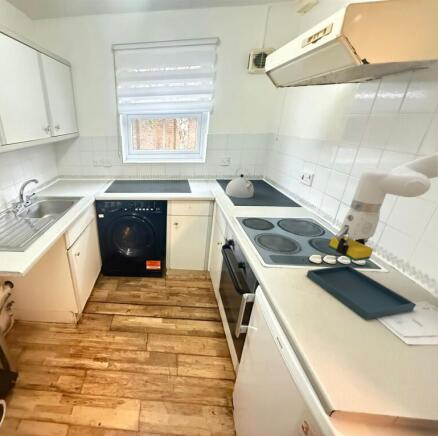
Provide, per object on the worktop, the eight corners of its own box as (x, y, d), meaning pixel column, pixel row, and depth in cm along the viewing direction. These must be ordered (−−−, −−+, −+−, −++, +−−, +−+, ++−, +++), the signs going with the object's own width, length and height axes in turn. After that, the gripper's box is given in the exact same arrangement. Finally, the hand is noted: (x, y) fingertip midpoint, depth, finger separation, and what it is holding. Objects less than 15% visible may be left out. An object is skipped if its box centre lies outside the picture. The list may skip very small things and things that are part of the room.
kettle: (261, 197, 194) (266, 170, 186) (237, 199, 189) (241, 171, 180) (242, 189, 217) (246, 164, 208) (220, 191, 211) (223, 165, 202)
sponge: (328, 247, 91) (331, 238, 89) (342, 245, 92) (345, 236, 91) (354, 261, 82) (358, 251, 80) (369, 258, 83) (373, 248, 82)
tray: (345, 270, 101) (347, 264, 100) (412, 310, 80) (416, 304, 79) (306, 276, 97) (308, 270, 96) (365, 320, 76) (368, 313, 75)
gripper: (355, 212, 75) (339, 260, 82) (398, 207, 78) (378, 254, 85) (333, 204, 82) (320, 249, 89) (373, 200, 85) (357, 244, 92)
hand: (348, 251), depth 87 cm, fingers closed on sponge, 6 cm apart
